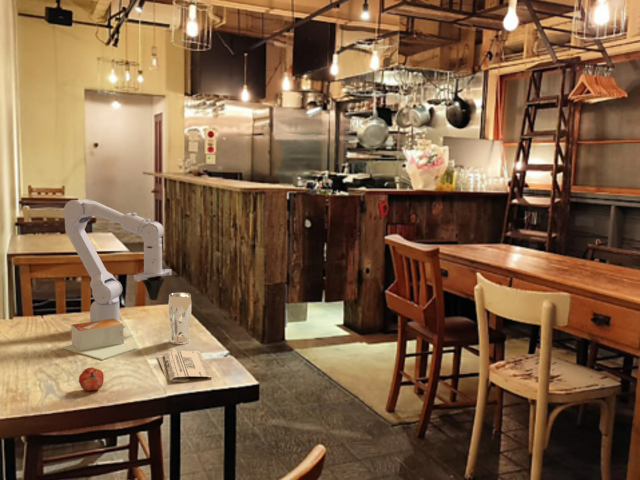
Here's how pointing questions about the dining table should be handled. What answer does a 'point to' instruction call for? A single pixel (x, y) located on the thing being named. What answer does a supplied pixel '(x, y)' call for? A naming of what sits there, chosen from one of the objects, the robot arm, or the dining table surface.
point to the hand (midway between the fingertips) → (153, 299)
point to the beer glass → (179, 317)
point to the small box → (97, 334)
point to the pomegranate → (91, 379)
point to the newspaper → (183, 365)
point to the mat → (102, 351)
